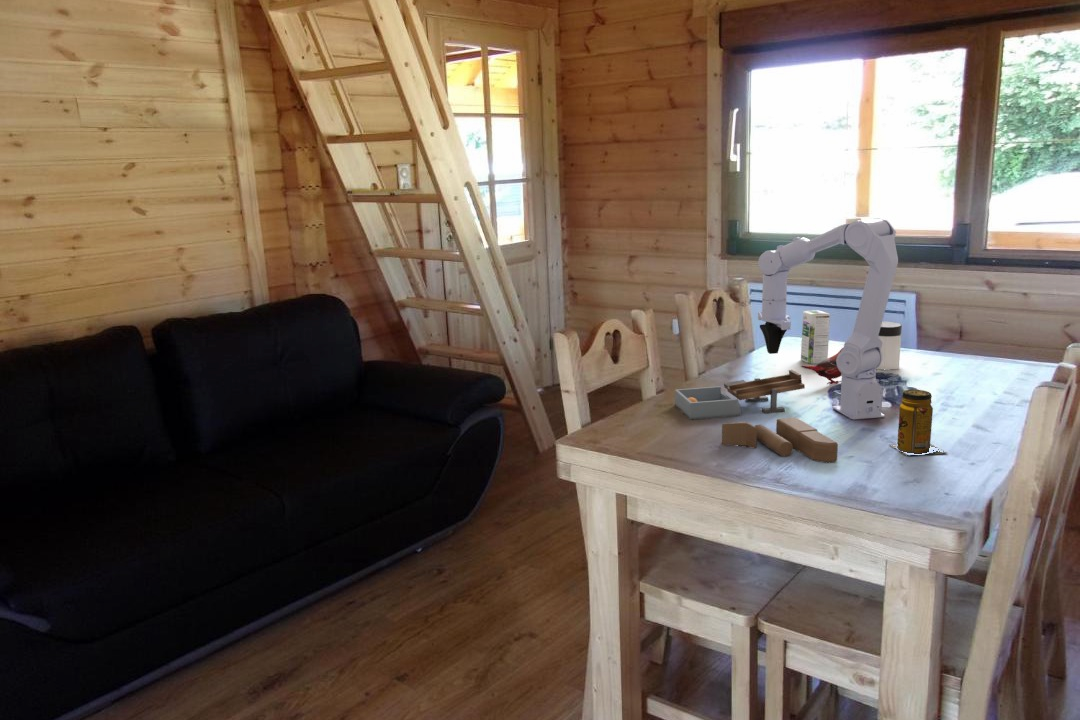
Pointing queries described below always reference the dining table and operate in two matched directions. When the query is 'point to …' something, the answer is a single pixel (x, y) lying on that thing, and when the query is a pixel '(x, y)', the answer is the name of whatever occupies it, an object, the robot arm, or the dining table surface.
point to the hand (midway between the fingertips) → (772, 353)
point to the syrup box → (815, 336)
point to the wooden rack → (765, 386)
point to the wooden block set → (783, 438)
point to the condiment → (915, 423)
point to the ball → (692, 399)
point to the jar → (890, 345)
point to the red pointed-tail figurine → (827, 369)
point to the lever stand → (773, 402)
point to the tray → (706, 403)
